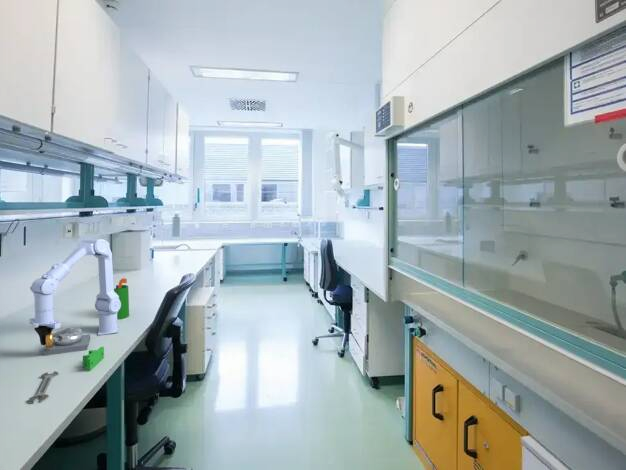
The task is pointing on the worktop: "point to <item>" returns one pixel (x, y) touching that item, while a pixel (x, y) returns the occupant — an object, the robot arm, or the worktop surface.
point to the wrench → (43, 387)
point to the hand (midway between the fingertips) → (45, 344)
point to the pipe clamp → (93, 358)
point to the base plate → (69, 346)
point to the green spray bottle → (122, 299)
